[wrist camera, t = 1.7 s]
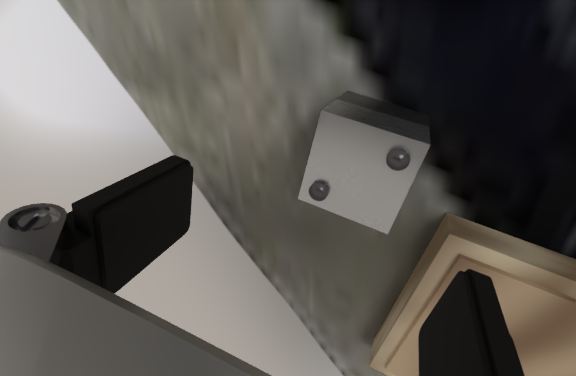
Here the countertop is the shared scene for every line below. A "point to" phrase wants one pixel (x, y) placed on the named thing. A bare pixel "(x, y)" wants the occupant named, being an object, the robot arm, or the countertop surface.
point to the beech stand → (510, 291)
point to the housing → (365, 159)
